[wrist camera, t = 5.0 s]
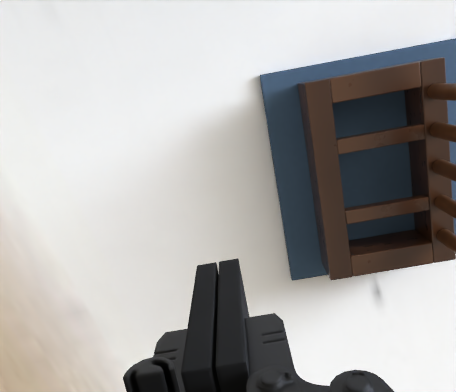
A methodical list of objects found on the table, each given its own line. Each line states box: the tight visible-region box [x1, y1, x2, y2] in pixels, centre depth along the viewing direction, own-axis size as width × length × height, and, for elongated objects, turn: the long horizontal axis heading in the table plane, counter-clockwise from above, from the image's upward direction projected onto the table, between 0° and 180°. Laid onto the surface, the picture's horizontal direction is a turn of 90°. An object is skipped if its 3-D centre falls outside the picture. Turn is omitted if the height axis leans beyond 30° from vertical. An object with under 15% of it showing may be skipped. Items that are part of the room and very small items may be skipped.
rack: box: [297, 57, 456, 280], centre depth 28 cm, size 9×14×10 cm, turn 10°
